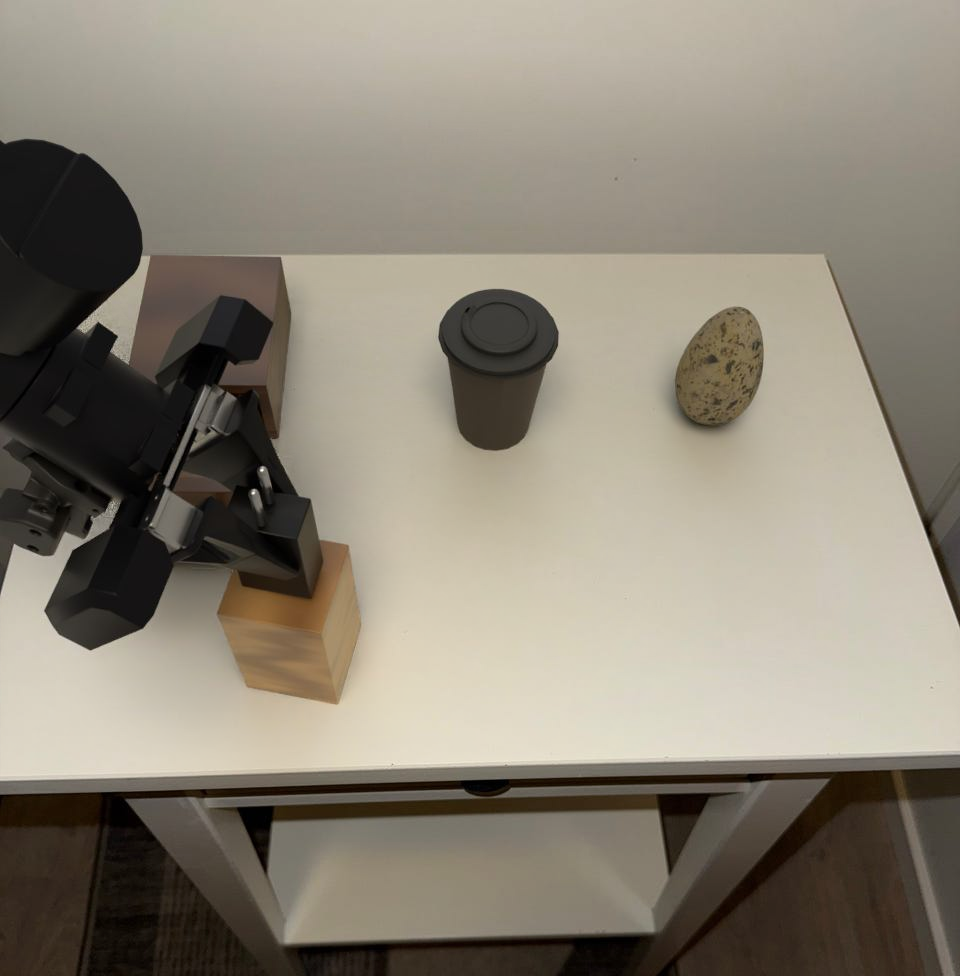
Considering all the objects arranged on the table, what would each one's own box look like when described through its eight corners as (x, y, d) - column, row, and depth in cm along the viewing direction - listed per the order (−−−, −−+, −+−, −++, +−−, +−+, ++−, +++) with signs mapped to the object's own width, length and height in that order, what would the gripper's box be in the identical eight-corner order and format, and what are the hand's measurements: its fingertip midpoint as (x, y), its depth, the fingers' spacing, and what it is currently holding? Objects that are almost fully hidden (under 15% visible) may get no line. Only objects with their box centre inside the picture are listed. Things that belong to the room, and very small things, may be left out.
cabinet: (278, 438, 72) (266, 385, 67) (146, 437, 72) (124, 384, 67) (291, 313, 78) (281, 256, 73) (169, 312, 78) (150, 254, 73)
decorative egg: (659, 385, 76) (687, 282, 67) (734, 381, 76) (772, 278, 67) (674, 446, 73) (706, 347, 64) (752, 441, 73) (794, 342, 64)
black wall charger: (241, 586, 54) (208, 493, 47) (255, 548, 56) (225, 451, 48) (311, 599, 54) (289, 508, 47) (324, 561, 55) (304, 465, 48)
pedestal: (246, 687, 63) (215, 613, 54) (273, 607, 65) (248, 525, 57) (338, 705, 62) (321, 633, 54) (361, 623, 65) (349, 544, 57)
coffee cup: (435, 383, 75) (433, 279, 66) (540, 378, 76) (552, 275, 67) (442, 468, 71) (442, 370, 62) (553, 462, 72) (568, 364, 63)
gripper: (38, 301, 53) (267, 464, 62) (-128, 590, 45) (166, 731, 54) (137, 199, 46) (381, 401, 55) (-40, 523, 37) (284, 699, 46)
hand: (301, 552), depth 53 cm, fingers closed on black wall charger, 2 cm apart
